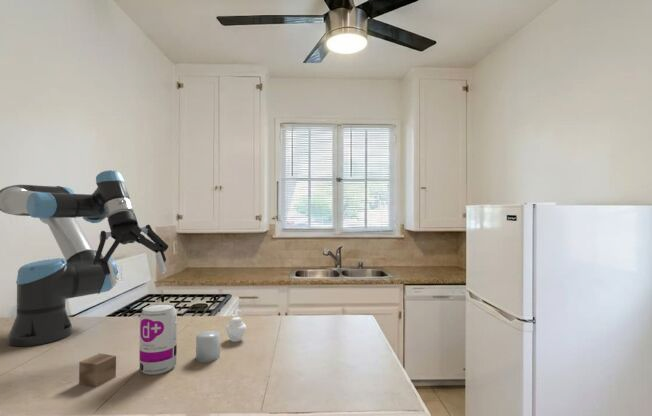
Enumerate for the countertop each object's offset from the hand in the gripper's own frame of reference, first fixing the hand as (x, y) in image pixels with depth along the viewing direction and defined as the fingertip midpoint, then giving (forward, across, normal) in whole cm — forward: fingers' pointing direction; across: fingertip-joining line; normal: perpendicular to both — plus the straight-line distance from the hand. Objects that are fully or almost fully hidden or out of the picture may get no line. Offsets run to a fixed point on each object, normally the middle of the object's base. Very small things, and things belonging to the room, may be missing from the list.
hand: (140, 278), depth 103 cm
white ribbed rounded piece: (+28, +19, -4) cm, 34 cm away
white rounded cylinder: (+29, +7, -9) cm, 31 cm away
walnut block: (+24, -17, -6) cm, 29 cm away
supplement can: (+27, -5, -8) cm, 28 cm away
